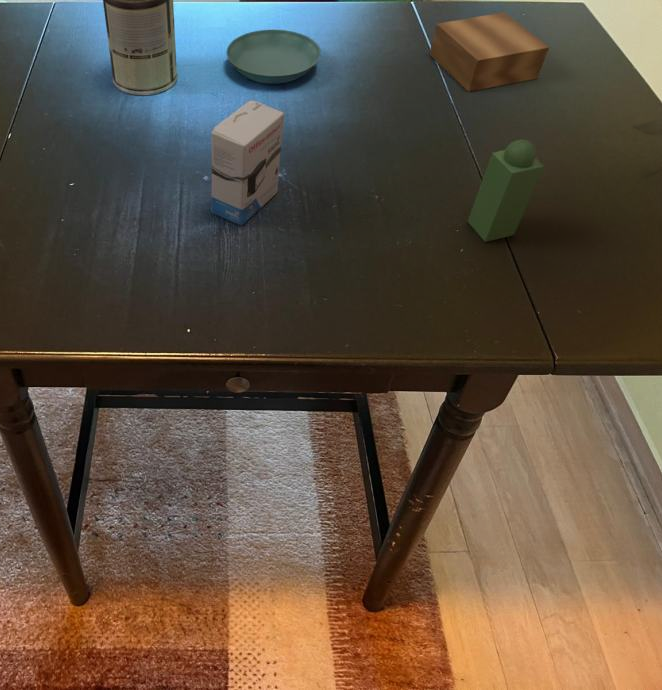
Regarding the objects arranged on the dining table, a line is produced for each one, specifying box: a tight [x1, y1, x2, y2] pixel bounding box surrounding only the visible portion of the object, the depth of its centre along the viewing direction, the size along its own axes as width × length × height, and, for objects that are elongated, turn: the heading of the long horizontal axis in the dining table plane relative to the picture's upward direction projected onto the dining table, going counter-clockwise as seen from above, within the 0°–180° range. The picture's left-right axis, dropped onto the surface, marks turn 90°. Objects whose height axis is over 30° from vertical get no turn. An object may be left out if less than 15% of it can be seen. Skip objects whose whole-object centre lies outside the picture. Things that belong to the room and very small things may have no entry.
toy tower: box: [467, 139, 545, 243], centre depth 79 cm, size 4×4×12 cm
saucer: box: [226, 29, 322, 85], centre depth 108 cm, size 15×15×3 cm
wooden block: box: [428, 12, 550, 93], centre depth 106 cm, size 12×12×5 cm
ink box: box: [211, 99, 285, 227], centre depth 83 cm, size 8×5×12 cm, turn 143°
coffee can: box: [102, 0, 178, 96], centre depth 102 cm, size 10×10×14 cm
